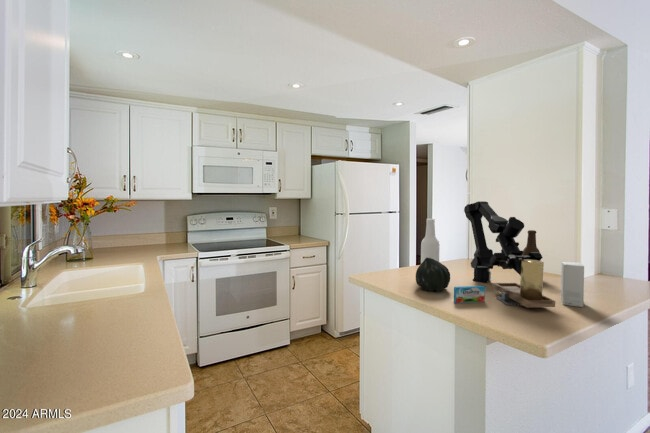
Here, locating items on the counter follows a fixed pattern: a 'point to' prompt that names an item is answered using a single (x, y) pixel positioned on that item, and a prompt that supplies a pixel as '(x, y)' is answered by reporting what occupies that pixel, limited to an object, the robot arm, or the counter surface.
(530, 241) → the beer bottle
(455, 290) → the yogurt
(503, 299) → the pivot stand
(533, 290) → the cylinder
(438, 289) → the squash
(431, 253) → the alcohol
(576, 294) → the skincare box
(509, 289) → the brown wooden tray
